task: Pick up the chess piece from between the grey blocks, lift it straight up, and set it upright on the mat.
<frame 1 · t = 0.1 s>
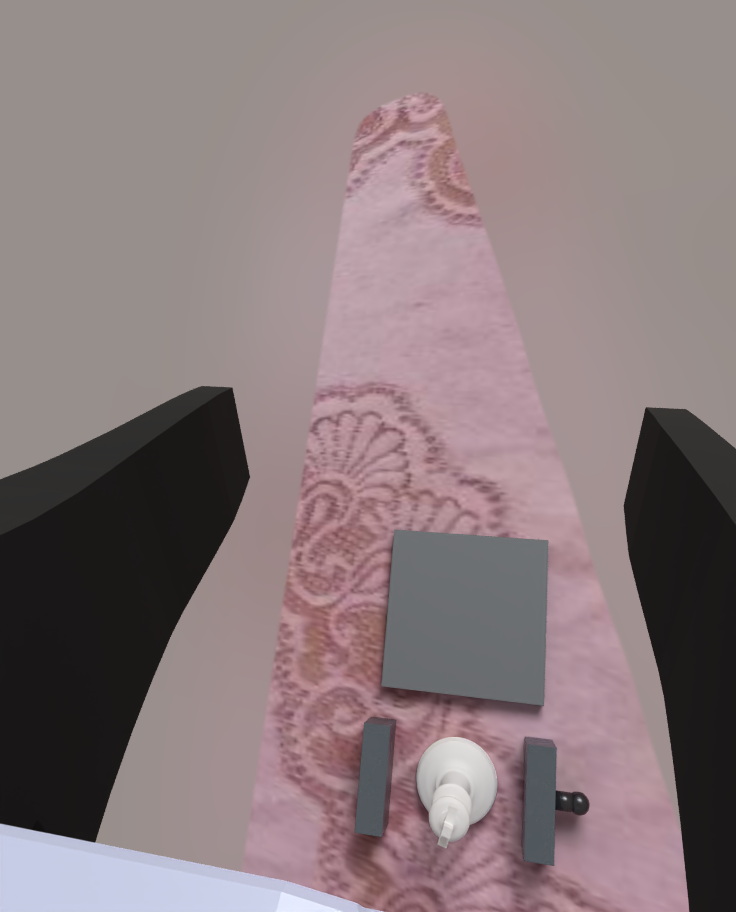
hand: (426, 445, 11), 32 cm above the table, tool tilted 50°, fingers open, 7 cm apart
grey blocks: (456, 780, 39), on the table
chess piece: (456, 779, 39), on the table
mat: (465, 613, 41), on the table
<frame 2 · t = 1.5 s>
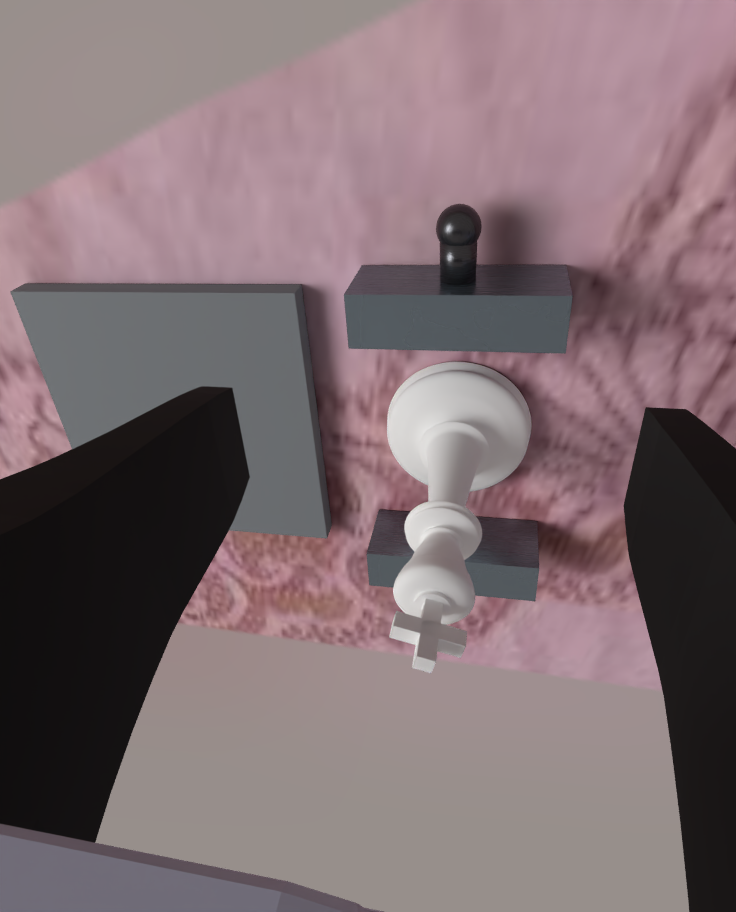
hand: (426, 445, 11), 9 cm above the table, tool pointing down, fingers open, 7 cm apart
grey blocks: (457, 426, 22), on the table
chess piece: (458, 422, 22), on the table
mat: (190, 413, 24), on the table
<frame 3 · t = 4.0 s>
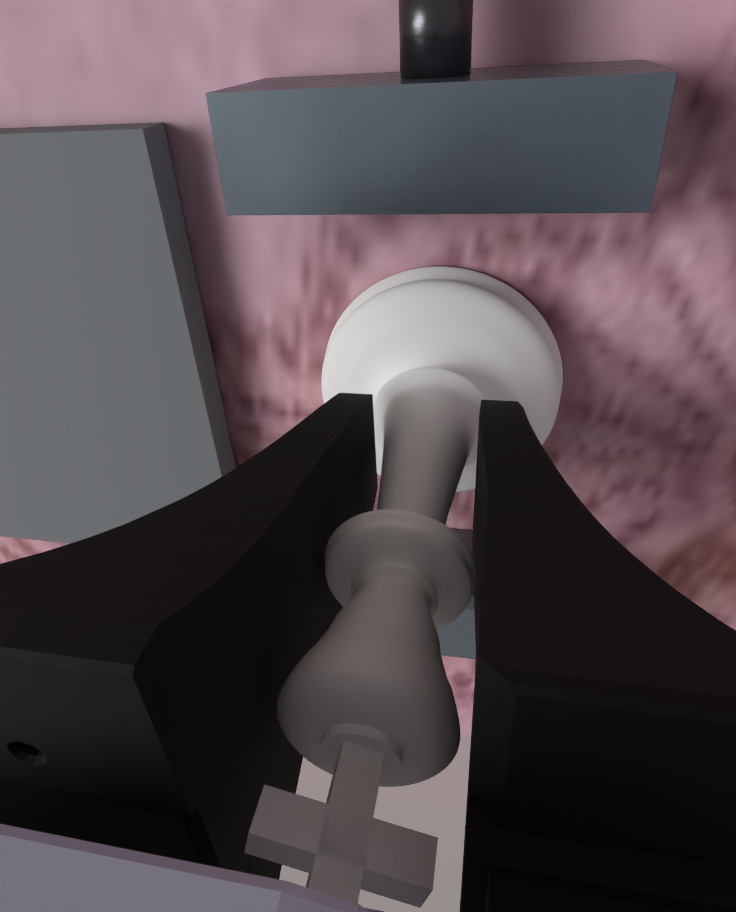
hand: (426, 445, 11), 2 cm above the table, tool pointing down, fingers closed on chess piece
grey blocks: (439, 382, 13), on the table
chess piece: (440, 377, 13), on the table, touching gripper
mat: (20, 364, 15), on the table
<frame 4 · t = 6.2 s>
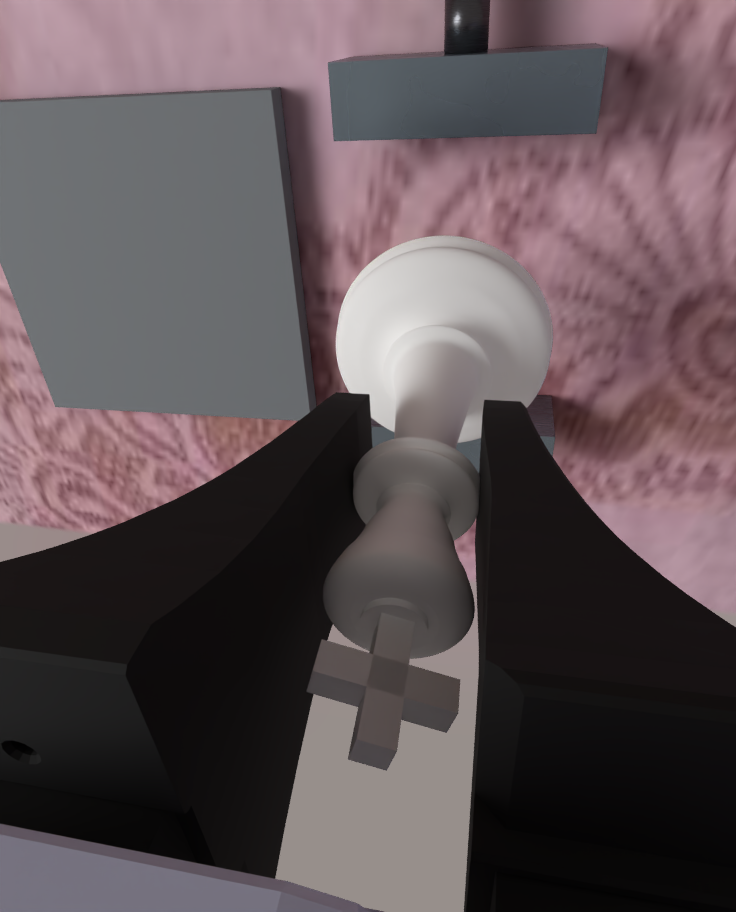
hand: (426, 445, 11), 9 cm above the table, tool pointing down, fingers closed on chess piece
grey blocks: (462, 273, 19), on the table
chess piece: (442, 338, 15), point 5 cm above the table, touching gripper
mat: (154, 269, 21), on the table
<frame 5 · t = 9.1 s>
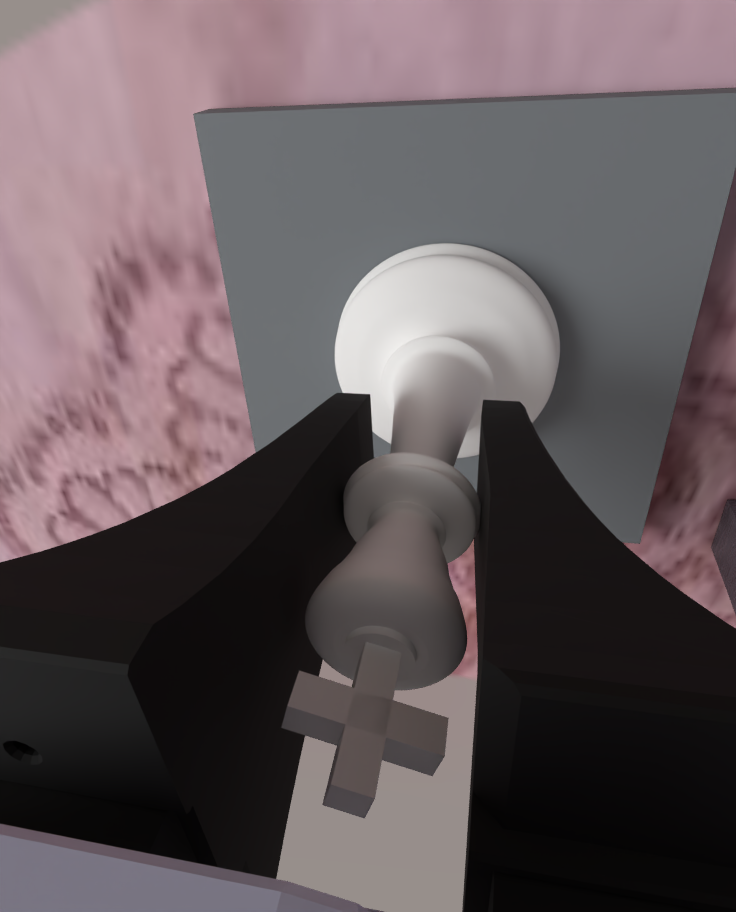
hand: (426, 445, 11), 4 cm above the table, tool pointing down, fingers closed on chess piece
chess piece: (445, 350, 14), point 1 cm above the table, touching gripper, mat
mat: (449, 342, 15), on the table
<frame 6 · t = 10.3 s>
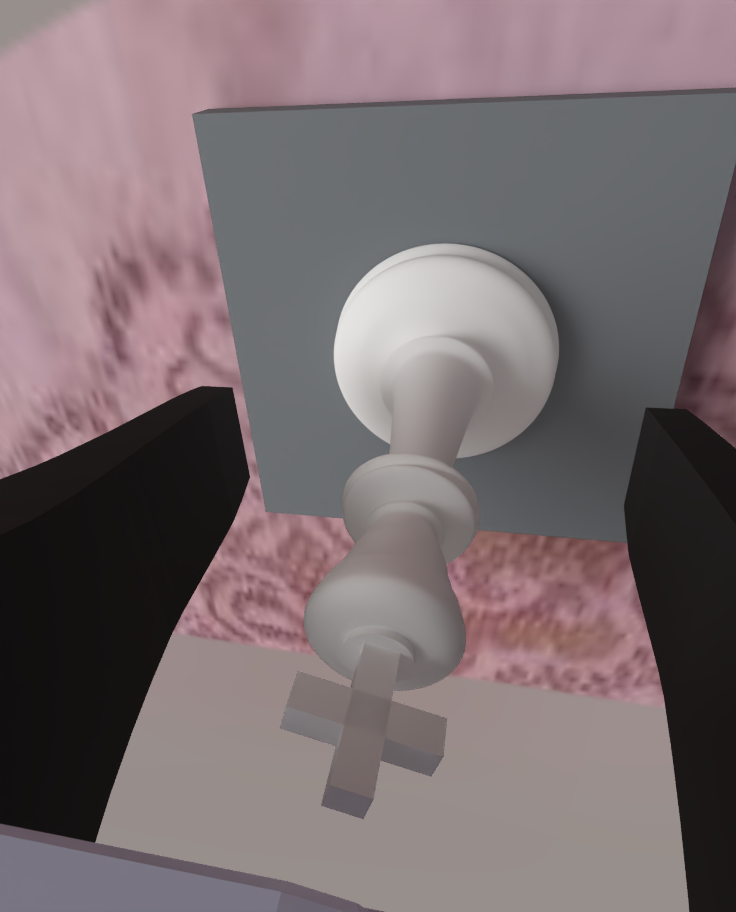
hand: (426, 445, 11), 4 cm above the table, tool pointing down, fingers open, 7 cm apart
chess piece: (444, 350, 14), point 1 cm above the table, touching mat
mat: (448, 342, 15), on the table
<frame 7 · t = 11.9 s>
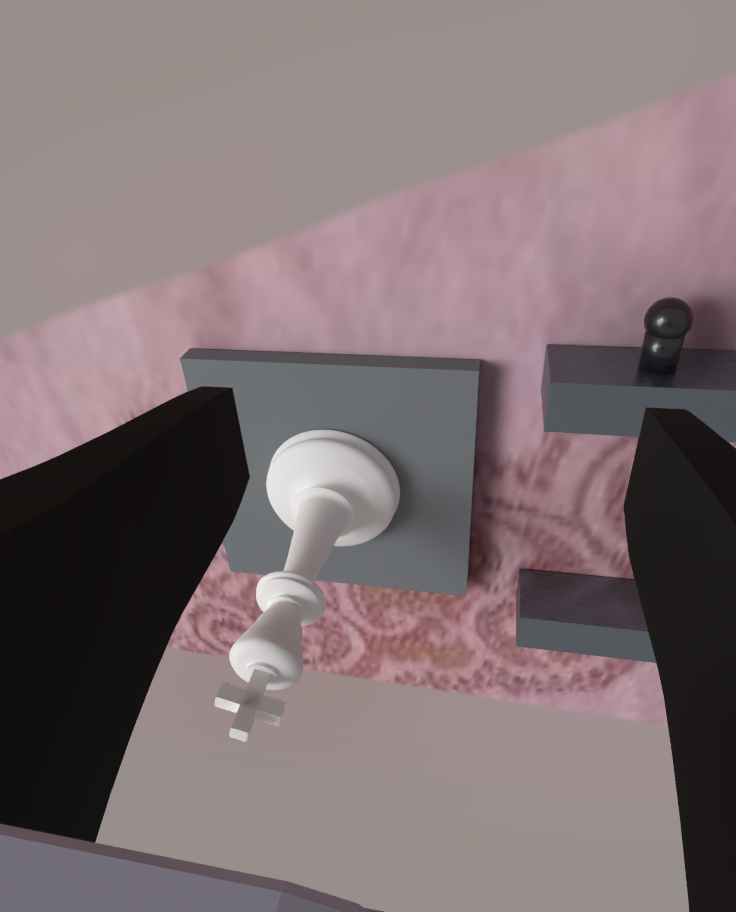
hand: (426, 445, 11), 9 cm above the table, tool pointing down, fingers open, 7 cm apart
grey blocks: (617, 494, 22), on the table
chess piece: (335, 482, 23), point 1 cm above the table, touching mat
mat: (339, 474, 24), on the table
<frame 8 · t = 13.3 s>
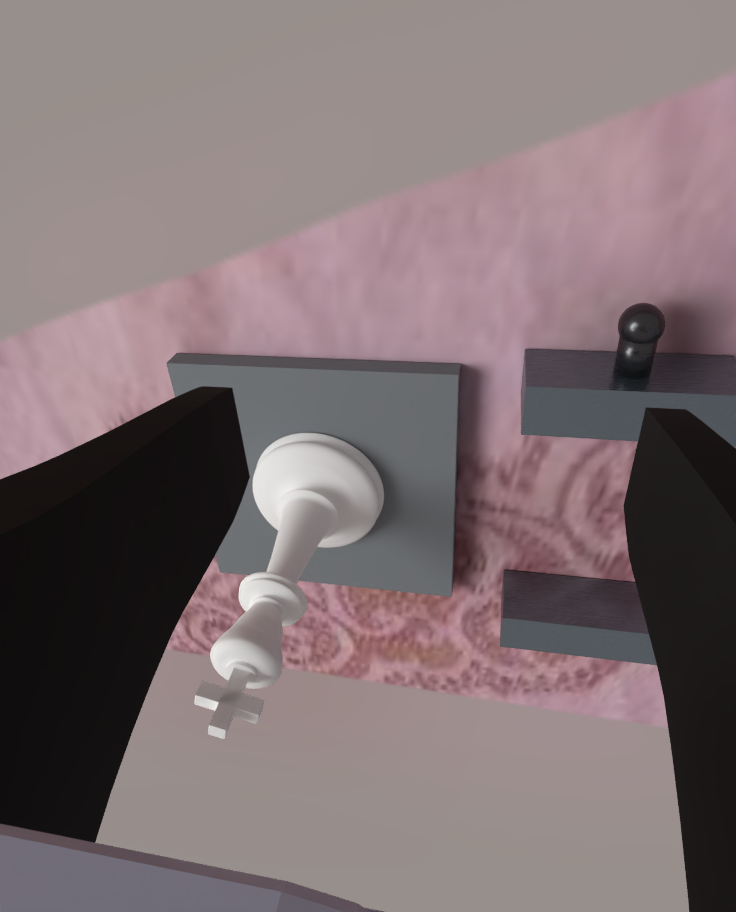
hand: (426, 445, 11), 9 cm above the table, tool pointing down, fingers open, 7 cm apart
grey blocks: (598, 496, 22), on the table
chess piece: (320, 484, 24), point 1 cm above the table, touching mat
mat: (325, 476, 24), on the table
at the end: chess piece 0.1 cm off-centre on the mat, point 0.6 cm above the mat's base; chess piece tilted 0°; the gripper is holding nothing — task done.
